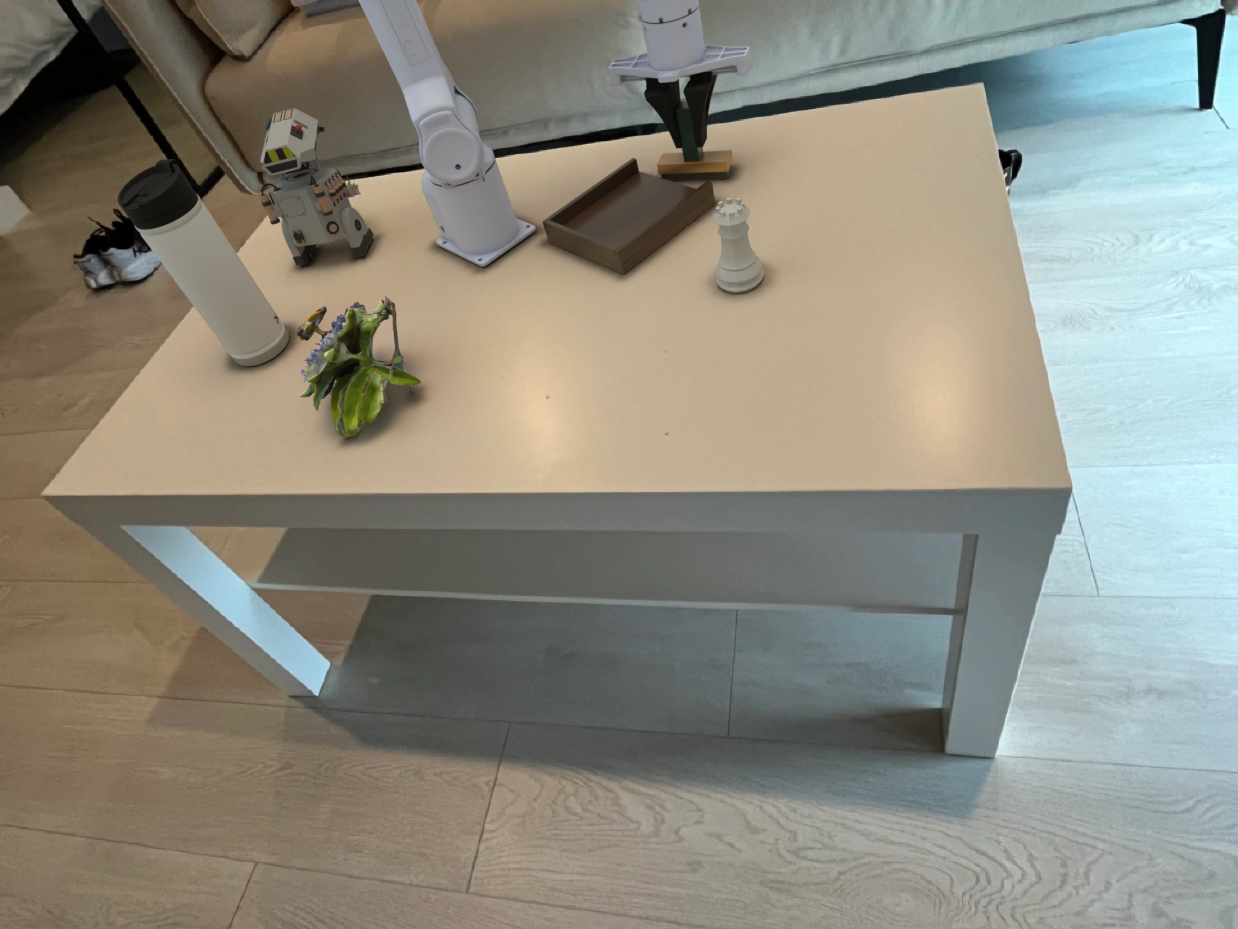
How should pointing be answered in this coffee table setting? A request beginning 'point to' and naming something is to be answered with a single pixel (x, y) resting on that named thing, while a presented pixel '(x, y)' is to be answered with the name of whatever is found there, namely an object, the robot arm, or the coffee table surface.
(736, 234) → the rook chess piece
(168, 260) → the travel mug
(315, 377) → the passion flower
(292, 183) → the figurine
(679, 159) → the brush
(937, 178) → the coffee table surface
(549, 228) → the tray
